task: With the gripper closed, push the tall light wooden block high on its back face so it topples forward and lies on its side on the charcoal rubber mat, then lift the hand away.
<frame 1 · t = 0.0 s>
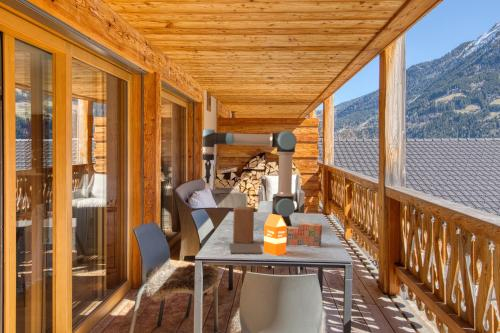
hand: (207, 187, 277), 28 cm above the table, tool pointing down, fingers open, 13 cm apart
stack of blocks: (301, 245, 248), on the table
orange juice: (274, 253, 228), on the table
wooden block: (243, 242, 250), on the table
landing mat: (245, 249, 234), on the table
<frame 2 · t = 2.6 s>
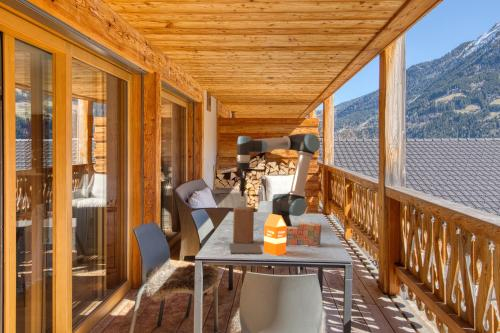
hand: (242, 201, 262), 22 cm above the table, tool pointing down, fingers closed
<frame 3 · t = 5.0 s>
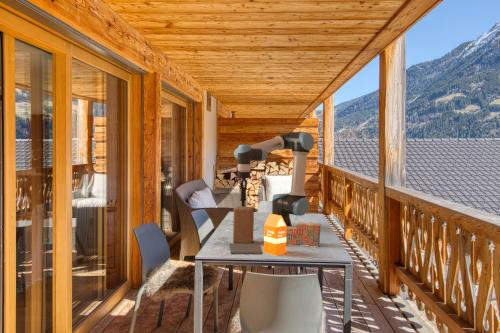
hand: (242, 211, 255), 17 cm above the table, tool pointing down, fingers closed
wooden block: (243, 242, 250), on the table, touching gripper
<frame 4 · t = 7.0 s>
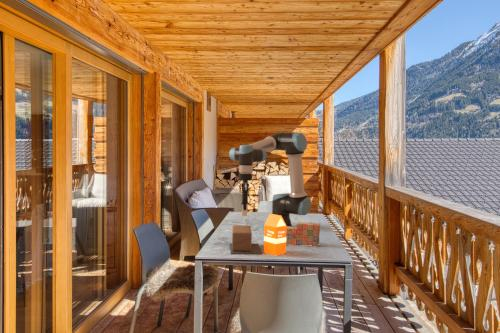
hand: (244, 215, 242), 17 cm above the table, tool pointing down, fingers closed
wooden block: (241, 233, 245), point 6 cm above the table, touching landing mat
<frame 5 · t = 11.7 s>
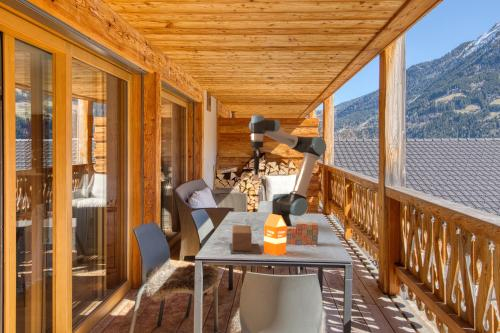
hand: (256, 180, 264), 34 cm above the table, tool pointing down, fingers closed
at the end: wooden block tilted 90°; wooden block touching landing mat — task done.
